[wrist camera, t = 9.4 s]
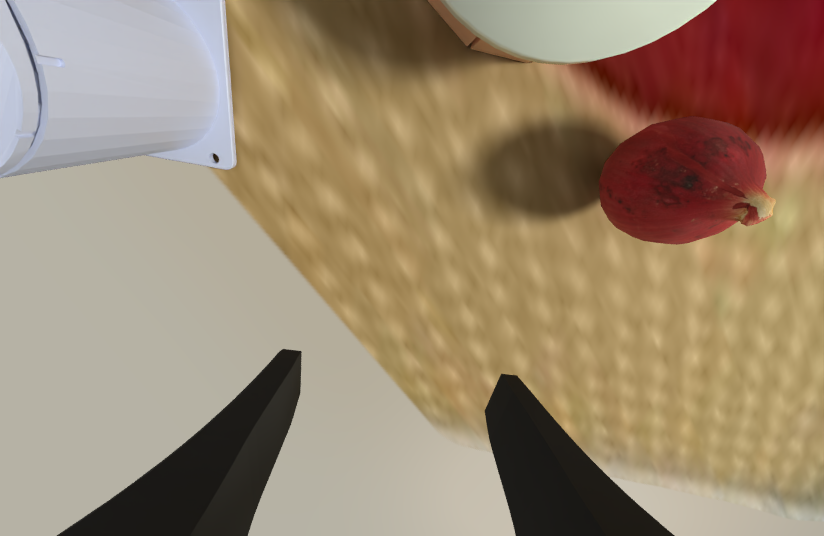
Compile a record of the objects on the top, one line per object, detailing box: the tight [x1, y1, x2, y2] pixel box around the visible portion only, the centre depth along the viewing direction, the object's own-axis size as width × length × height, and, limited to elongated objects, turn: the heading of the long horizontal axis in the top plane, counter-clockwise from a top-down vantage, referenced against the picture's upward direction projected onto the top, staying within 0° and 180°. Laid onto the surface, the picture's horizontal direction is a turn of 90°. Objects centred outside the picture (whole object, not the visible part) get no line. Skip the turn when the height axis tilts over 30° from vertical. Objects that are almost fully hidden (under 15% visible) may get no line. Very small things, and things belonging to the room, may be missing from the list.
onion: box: [599, 116, 776, 244], centre depth 14 cm, size 6×6×8 cm
